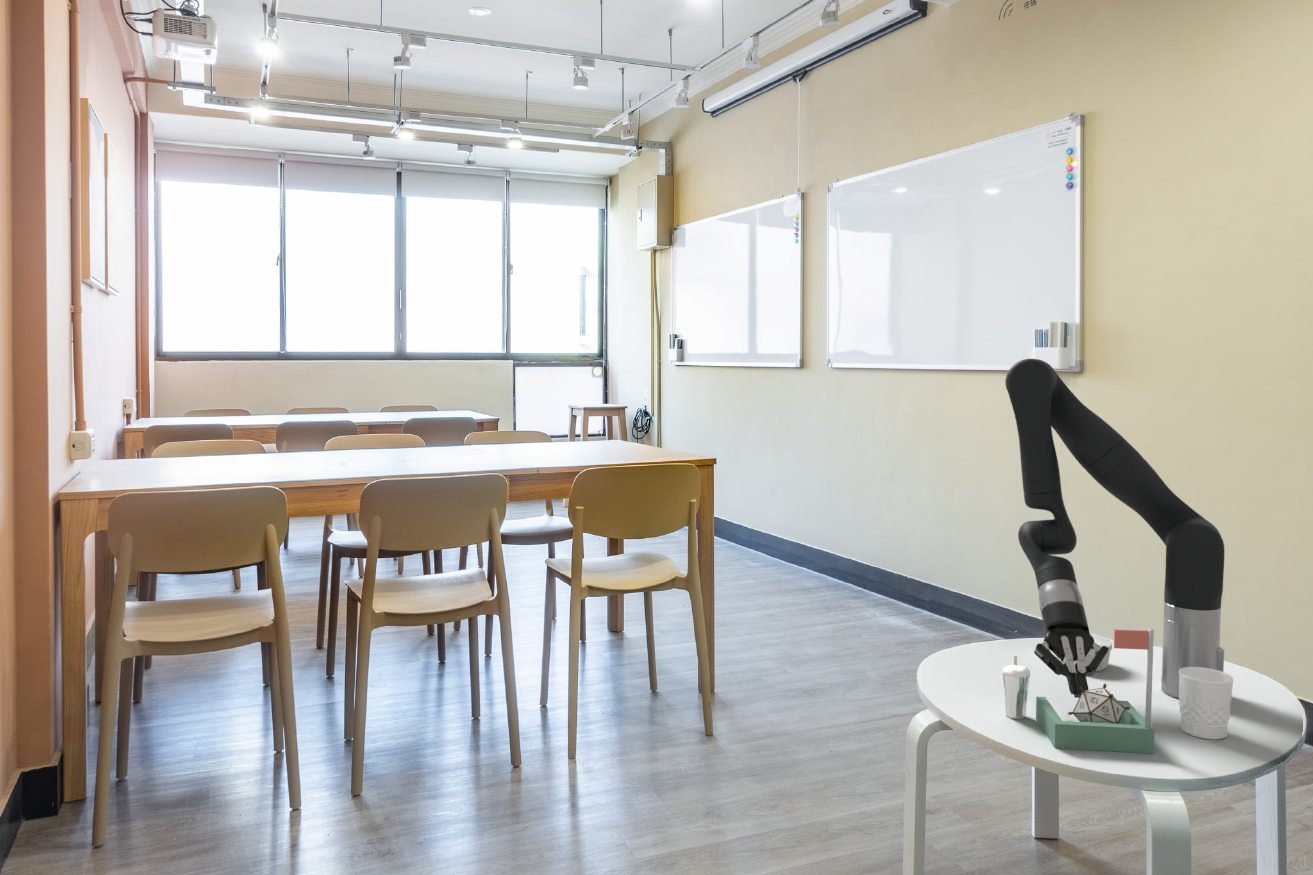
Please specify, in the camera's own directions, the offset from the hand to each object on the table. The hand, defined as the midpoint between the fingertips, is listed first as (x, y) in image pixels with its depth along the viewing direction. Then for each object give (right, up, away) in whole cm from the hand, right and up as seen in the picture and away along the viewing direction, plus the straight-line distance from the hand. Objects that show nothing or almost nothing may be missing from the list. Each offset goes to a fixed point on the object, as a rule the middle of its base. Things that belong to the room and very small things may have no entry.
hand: (1080, 695), depth 158 cm
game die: (0, -5, -6) cm, 8 cm away
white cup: (+18, -5, -6) cm, 20 cm away
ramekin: (+14, -2, +29) cm, 32 cm away
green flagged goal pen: (-1, -5, -7) cm, 8 cm away
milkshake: (-11, -4, +2) cm, 12 cm away
